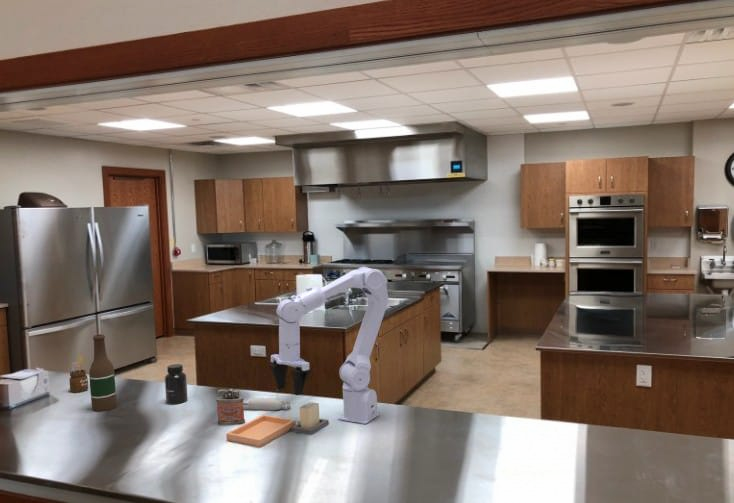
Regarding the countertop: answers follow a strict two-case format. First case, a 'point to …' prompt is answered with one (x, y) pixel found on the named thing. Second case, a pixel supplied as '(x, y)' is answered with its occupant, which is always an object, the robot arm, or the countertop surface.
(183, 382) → the supplement bottle
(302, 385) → the robot arm
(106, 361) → the beer bottle
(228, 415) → the lighter
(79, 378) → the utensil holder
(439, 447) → the countertop surface
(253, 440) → the parts tray
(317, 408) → the tan rectangular block
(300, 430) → the socket
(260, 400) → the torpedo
